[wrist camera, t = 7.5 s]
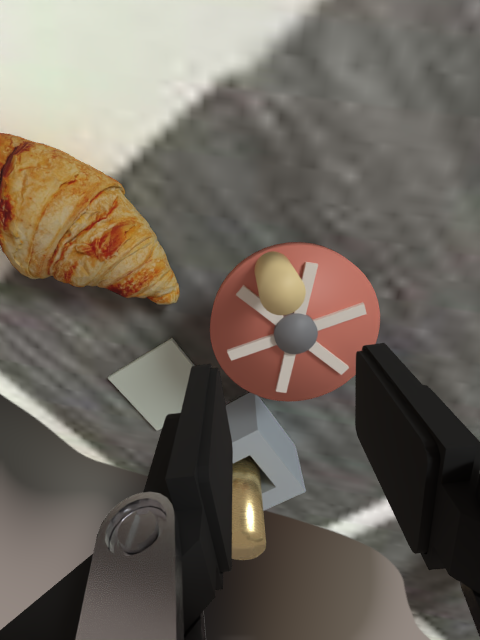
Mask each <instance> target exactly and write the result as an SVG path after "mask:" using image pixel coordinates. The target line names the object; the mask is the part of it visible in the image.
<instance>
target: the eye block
mask: <svg viewBox="0 0 480 640" xmlns="http://www.w3.org/2000/svg"><path fill="white" fill-rule="evenodd" d="M226 411H227V416H228V422H229V427H230V433H231V438H232V447H233V463H235V462H237V461H239V460H241V459H243V458H245V457H247V456H249V455H250V456H251V457H252V458H253V459H254V461H255V462H256V463H257V464H258V465H259V467H260V478H261V490H262V502H263V511H264V510H266V509H268V508H270V507H273V506H275V505H277V504H279V503H282V502H284V501H286V500H288V499H291V498H293V497H295V496H297V495H299V494H302V493H304V492H306V490H305V485H304V481H303V476H302V472H301V467H300V463H299V458H298V454H297V450H296V446H295V444H294V443H293V442H292V440H291V439H290V438H289V436H288V435H287V434H286V432H285V431H284V430H283V428H282V427H281V425H280V424H279V423H278V421H277V420H276V419H275V417H274V416H273V415H272V413H271V412H270V411H269V409H268V408H267V407H266V405H265V404H264V403H263V401H262V400H261V399H260V397H259V396H257V395H255V394H253V393H248V394H246V395H244V396H242V397H240V398H238V399H237V400H235V401H233V402H231V403H229V404H227V405H226Z"/></svg>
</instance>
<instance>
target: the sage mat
mask: <svg viewBox="0 0 480 640" xmlns="http://www.w3.org/2000/svg"><path fill="white" fill-rule="evenodd" d="M192 366H195V365H194V364H193V363H192V362H191V360H190V359H189V358H188V357H187V355H186V354H185V353H184V352H183V350H182V349H181V348H180V347H179V345H178V344H177V343H176V342H175V340H174V339H173V338H171V339H169V340H167V341H166V342H164V343H162V344H161V345H159V346H157V347H156V348H154V349H153V350H151V351H149V352H148V353H146V354H144V355H143V356H141V357H139V358H138V359H136V360H134V361H133V362H131V363H129V364H128V365H126V366H125V367H123V368H121V369H120V370H118V371H116V372H115V373H113V374H111V375H110V376H109V377H108V379H109V380H110V381H111V382H112V383H113V384H114V385H115V387H116V388H117V389H118V390H119V391H120V392H121V393H122V394H123V395H124V396H125V397H126V398H127V399H128V400H129V402H130V403H131V404H132V405H133V406H134V407H135V408H136V409H137V410H138V411H139V412H140V413H141V414H142V415H143V416H144V418H145V419H146V420H147V421H148V422H149V423H150V424H151V425H152V426H153V427H154V428H155V429H156V430H157V431H158V430H159V429H161V428H162V427H163V424H164V421H165V418H166V416H167V415H168V414H174V413H181V410H182V405H183V401H184V397H185V392H186V388H187V384H188V380H189V375H190V371H191V367H192Z"/></svg>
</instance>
